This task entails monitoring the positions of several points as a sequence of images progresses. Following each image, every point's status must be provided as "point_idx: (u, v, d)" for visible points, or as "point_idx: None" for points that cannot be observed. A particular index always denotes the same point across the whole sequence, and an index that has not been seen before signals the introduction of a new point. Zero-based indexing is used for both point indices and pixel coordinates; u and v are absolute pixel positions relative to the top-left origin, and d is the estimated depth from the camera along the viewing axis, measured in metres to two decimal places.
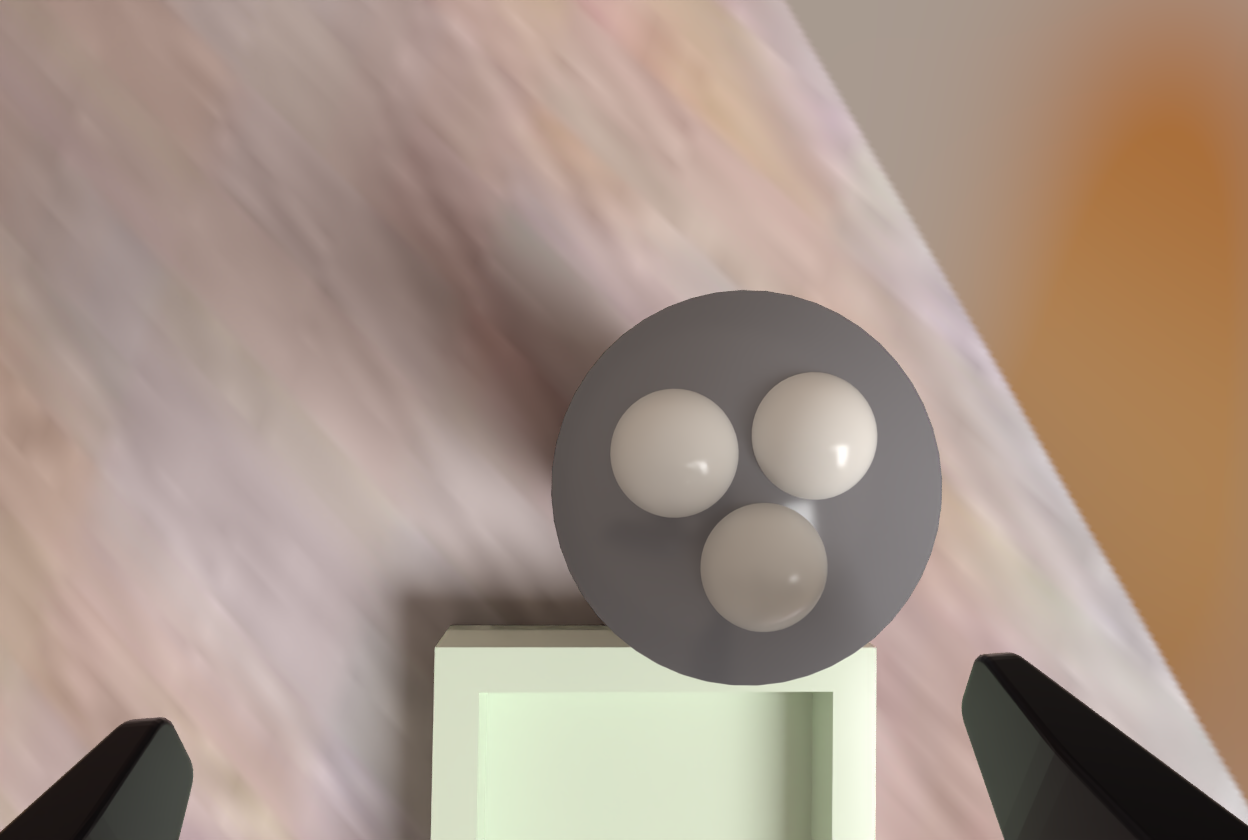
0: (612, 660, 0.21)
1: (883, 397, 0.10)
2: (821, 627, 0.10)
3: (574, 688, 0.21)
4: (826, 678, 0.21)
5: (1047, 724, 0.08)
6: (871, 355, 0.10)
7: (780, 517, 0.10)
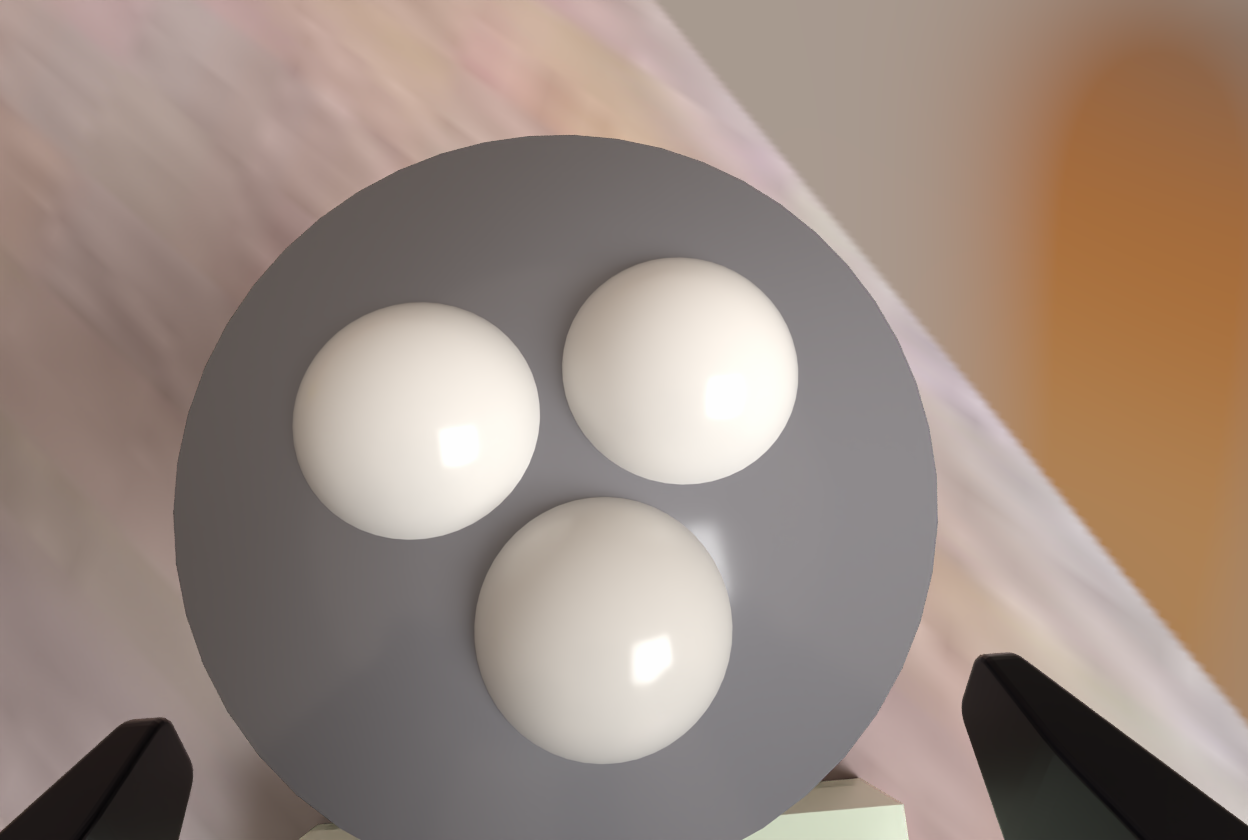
0: None
1: (799, 293, 0.06)
2: (733, 743, 0.05)
3: None
4: None
5: (1047, 724, 0.08)
6: (768, 225, 0.06)
7: (621, 516, 0.05)
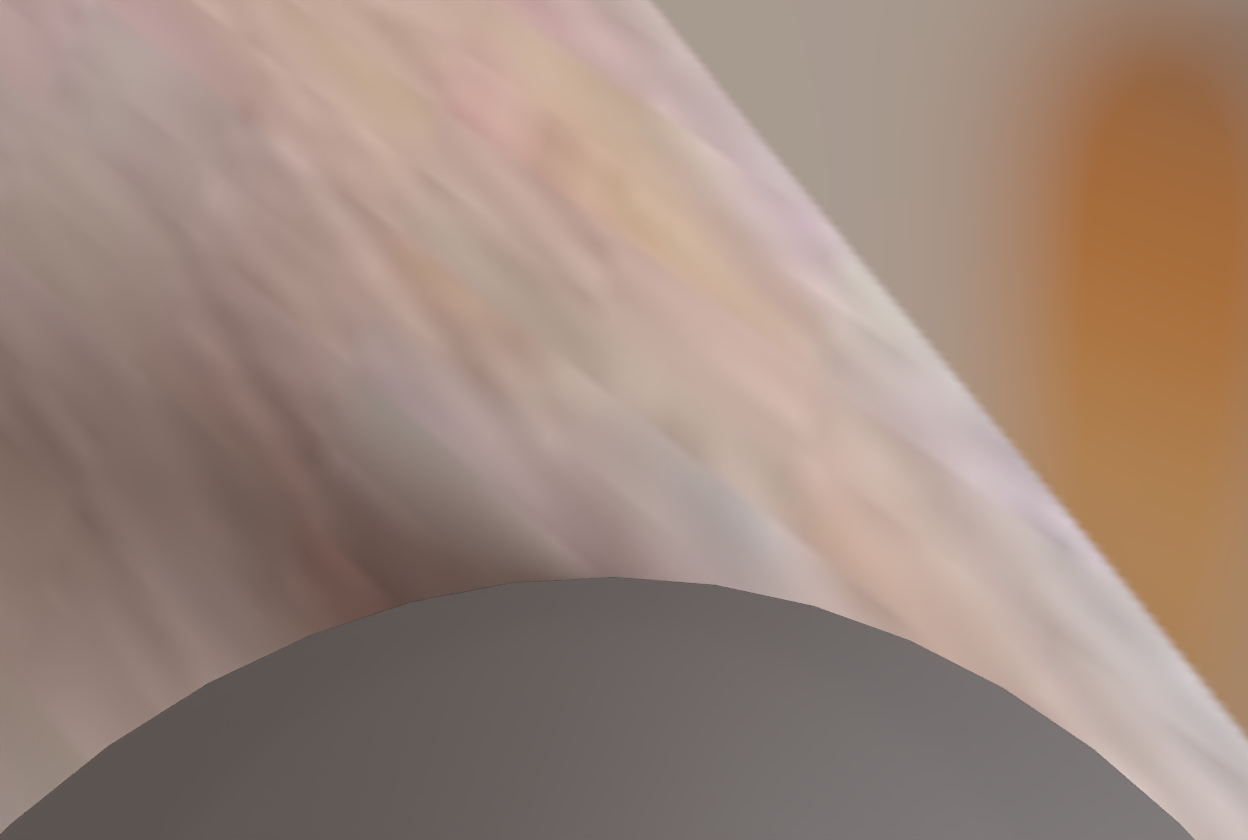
0: None
1: None
2: None
3: None
4: None
5: None
6: (1070, 805, 0.03)
7: None
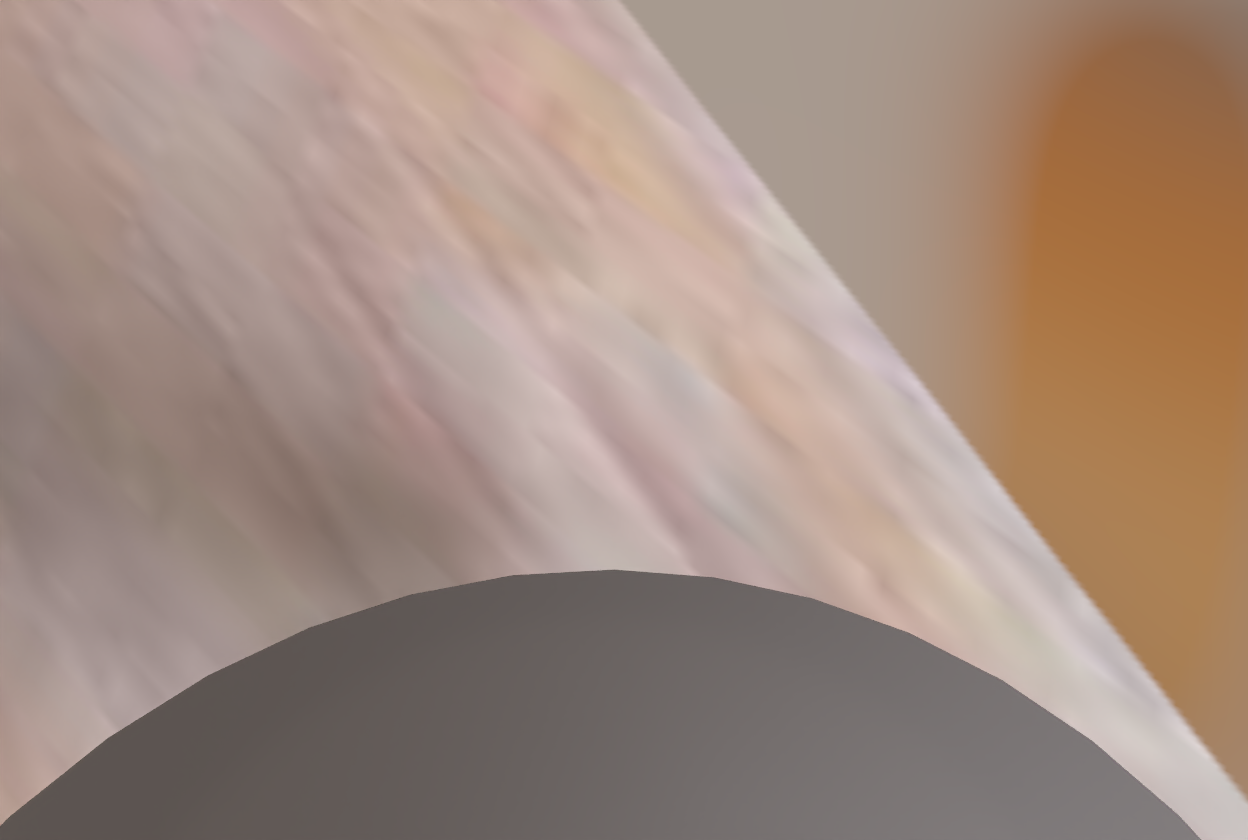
0: None
1: None
2: None
3: None
4: None
5: None
6: (1069, 797, 0.03)
7: None
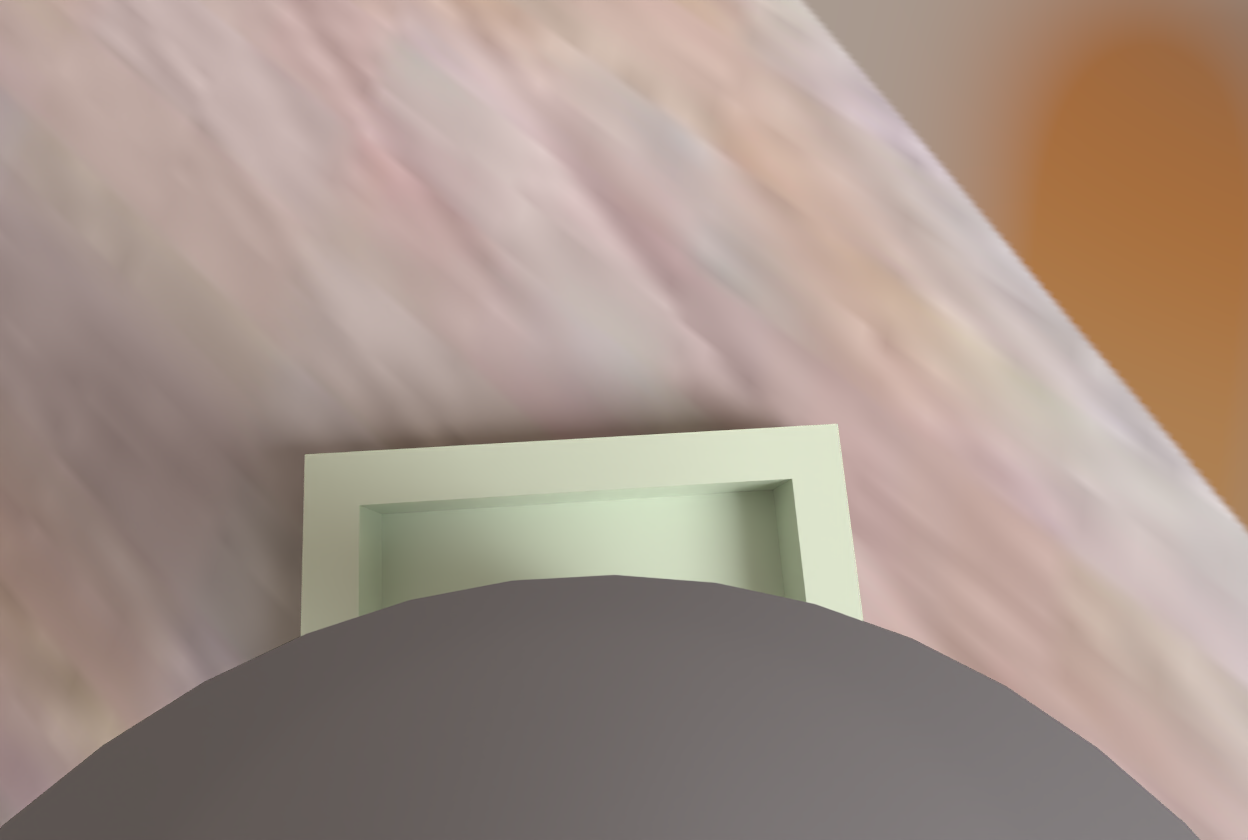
0: (520, 457, 0.17)
1: None
2: None
3: (476, 492, 0.17)
4: (782, 463, 0.18)
5: None
6: (1074, 804, 0.03)
7: None
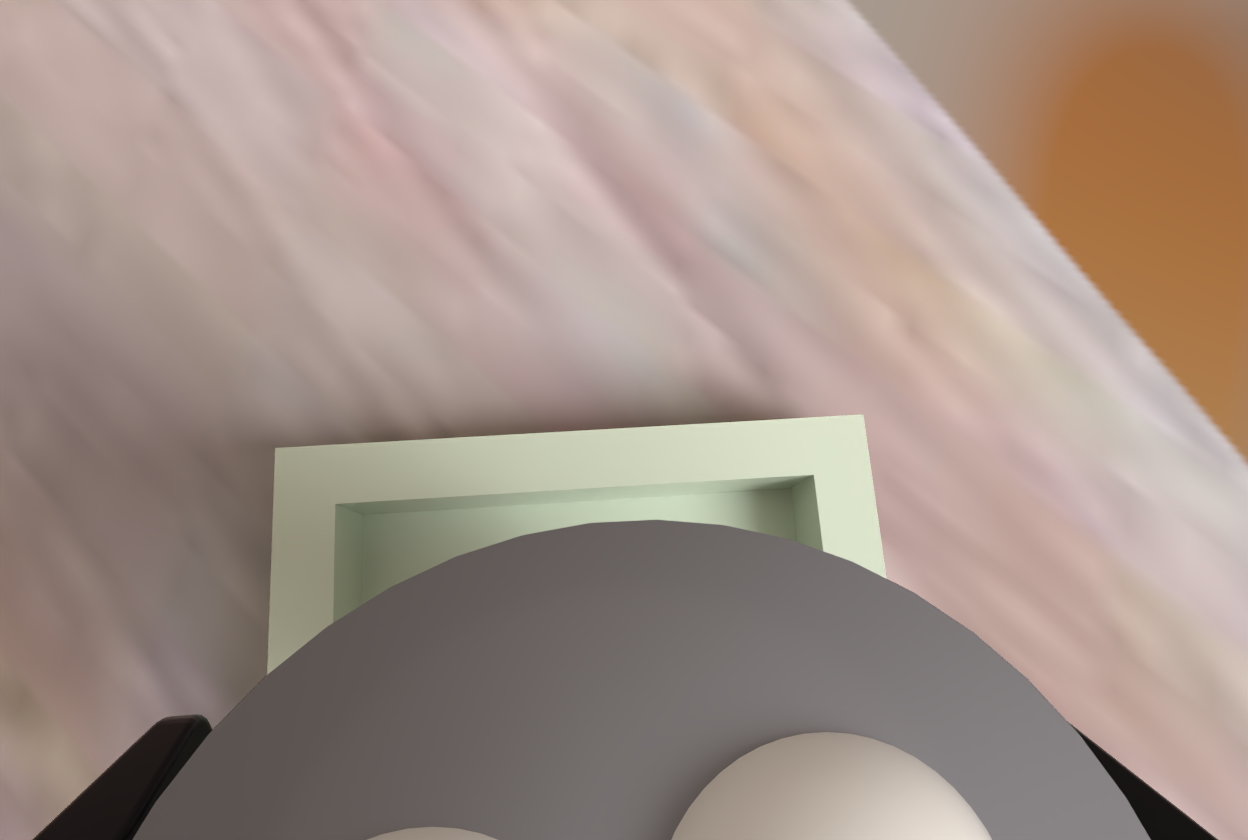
0: (514, 451, 0.16)
1: (1012, 788, 0.04)
2: None
3: (464, 490, 0.15)
4: (802, 457, 0.16)
5: None
6: (957, 668, 0.04)
7: None
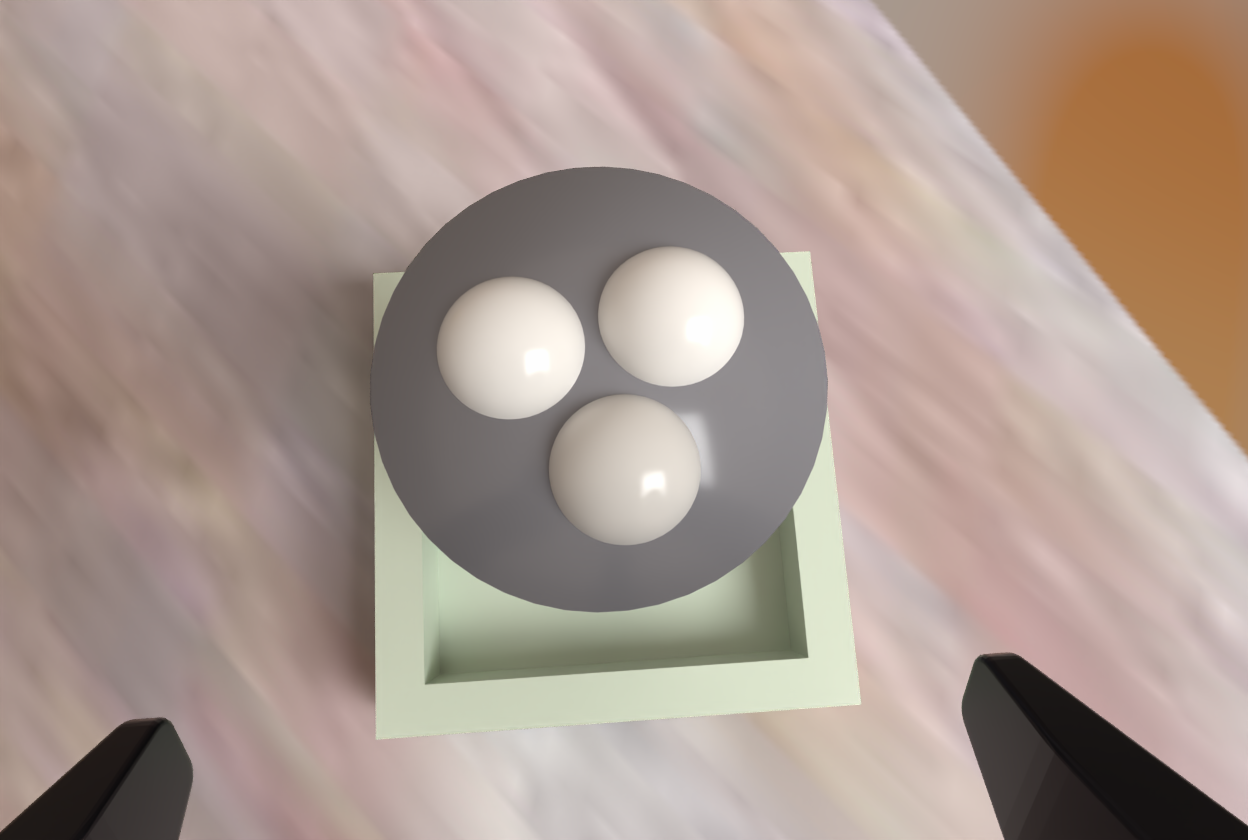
0: None
1: (746, 267, 0.09)
2: (700, 535, 0.09)
3: None
4: None
5: (1047, 724, 0.08)
6: (727, 224, 0.09)
7: (634, 403, 0.09)
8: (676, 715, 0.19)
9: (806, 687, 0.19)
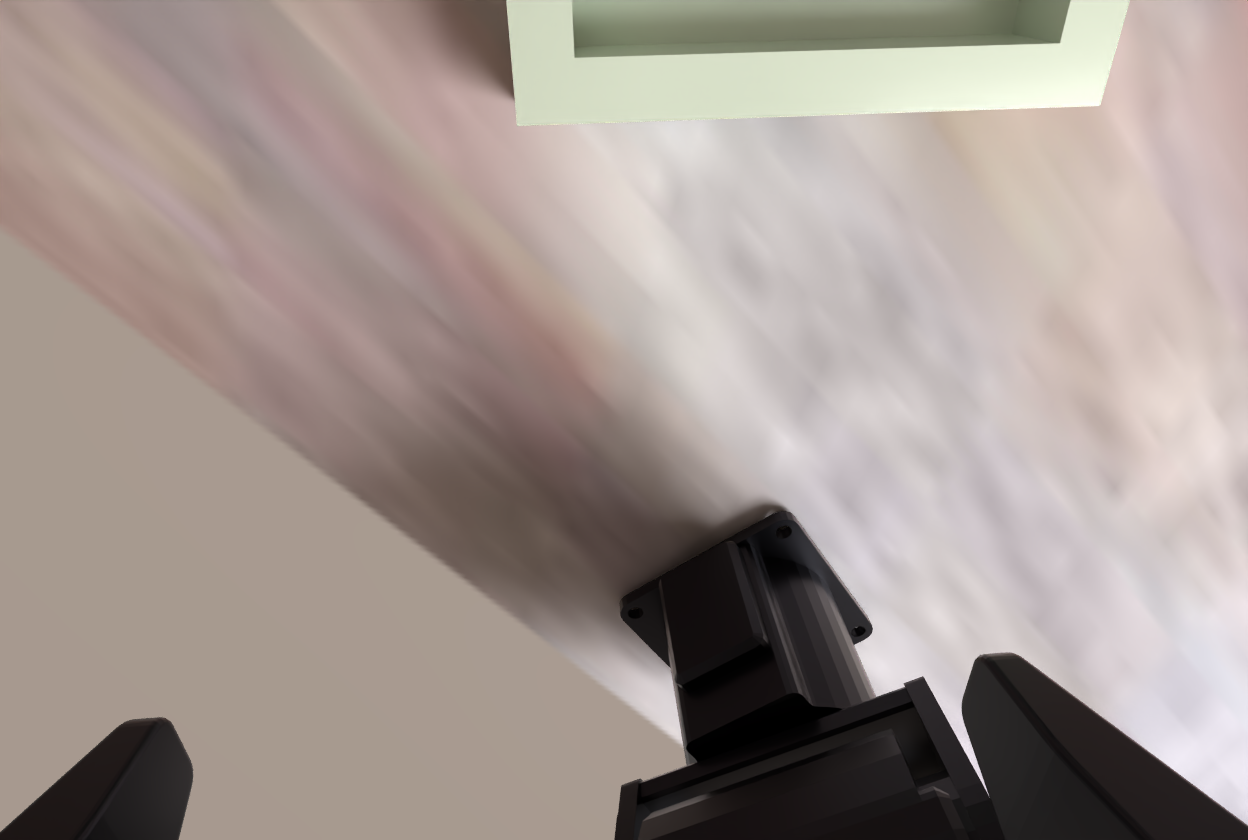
0: None
1: None
2: None
3: None
4: None
5: (1047, 724, 0.08)
6: None
7: None
8: (880, 110, 0.16)
9: (1044, 81, 0.16)
